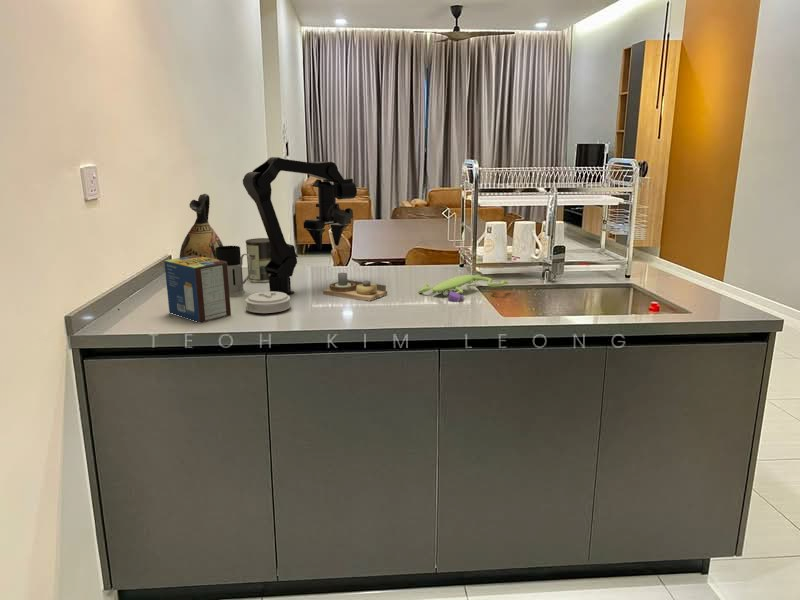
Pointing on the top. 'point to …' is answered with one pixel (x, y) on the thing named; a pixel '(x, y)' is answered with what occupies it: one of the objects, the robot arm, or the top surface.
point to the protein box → (198, 288)
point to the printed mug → (258, 258)
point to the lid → (268, 302)
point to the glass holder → (233, 268)
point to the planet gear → (342, 280)
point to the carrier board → (357, 290)
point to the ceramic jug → (201, 232)
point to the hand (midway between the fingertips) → (328, 247)
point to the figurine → (456, 283)
